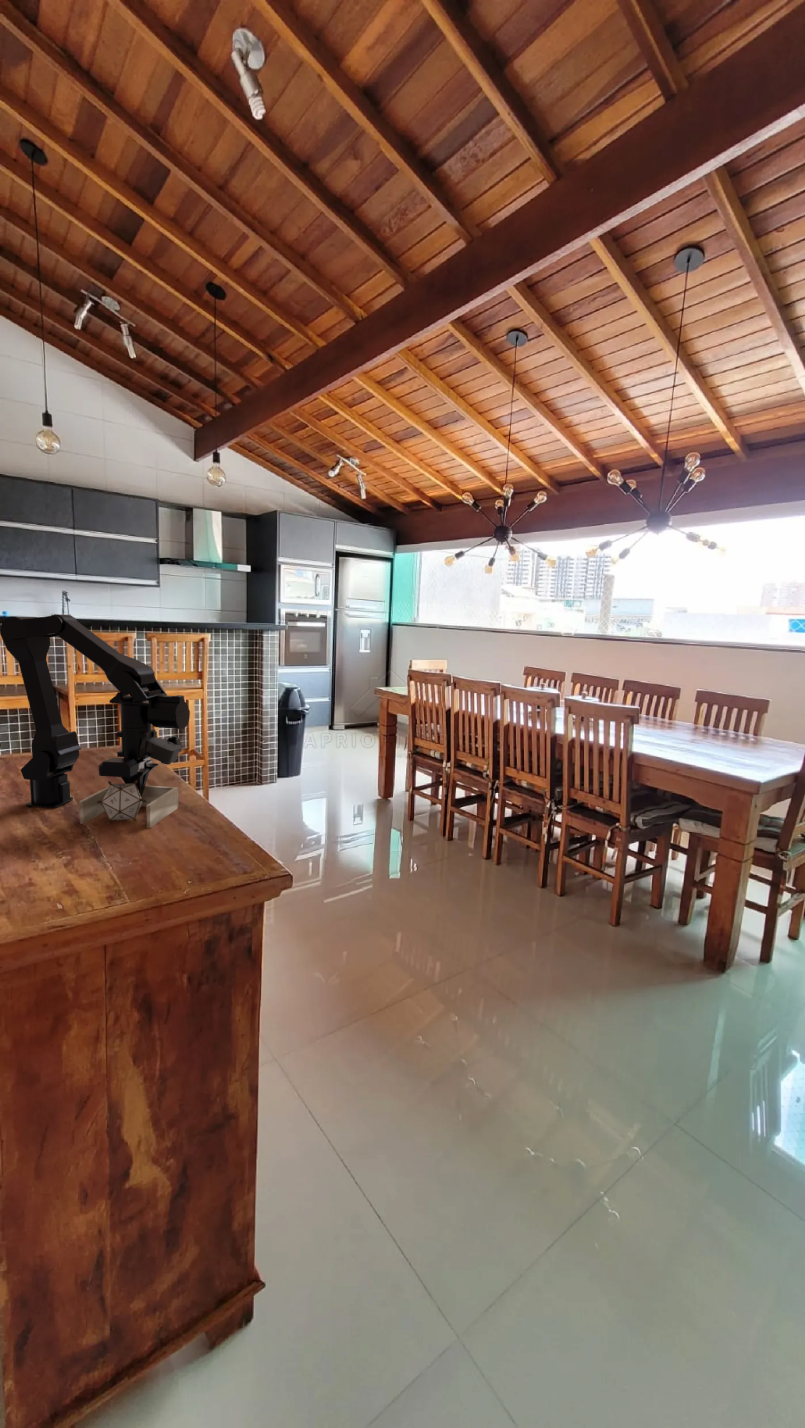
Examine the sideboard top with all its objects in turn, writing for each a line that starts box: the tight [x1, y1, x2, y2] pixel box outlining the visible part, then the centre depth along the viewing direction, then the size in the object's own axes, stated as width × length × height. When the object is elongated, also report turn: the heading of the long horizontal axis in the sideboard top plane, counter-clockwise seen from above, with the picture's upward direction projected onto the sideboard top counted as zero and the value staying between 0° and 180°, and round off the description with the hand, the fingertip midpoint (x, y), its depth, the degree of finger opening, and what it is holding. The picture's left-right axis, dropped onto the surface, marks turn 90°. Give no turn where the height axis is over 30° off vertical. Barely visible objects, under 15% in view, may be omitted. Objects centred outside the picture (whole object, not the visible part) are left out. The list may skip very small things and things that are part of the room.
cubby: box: [78, 785, 179, 829], centre depth 119 cm, size 14×13×4 cm
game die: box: [97, 780, 147, 825], centre depth 115 cm, size 9×8×10 cm
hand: (138, 799), depth 121 cm, fingers closed
